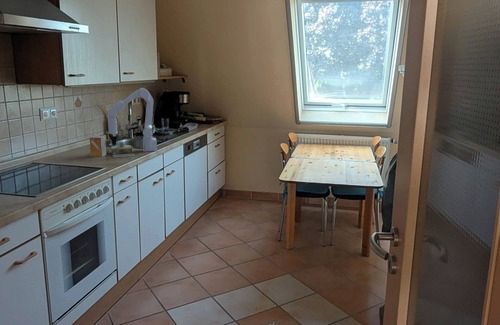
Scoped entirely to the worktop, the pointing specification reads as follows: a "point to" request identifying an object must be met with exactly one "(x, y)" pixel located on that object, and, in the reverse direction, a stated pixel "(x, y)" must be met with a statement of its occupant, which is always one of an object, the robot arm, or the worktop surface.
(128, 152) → the open brown box
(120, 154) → the mat
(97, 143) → the small box
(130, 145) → the mint green slab
